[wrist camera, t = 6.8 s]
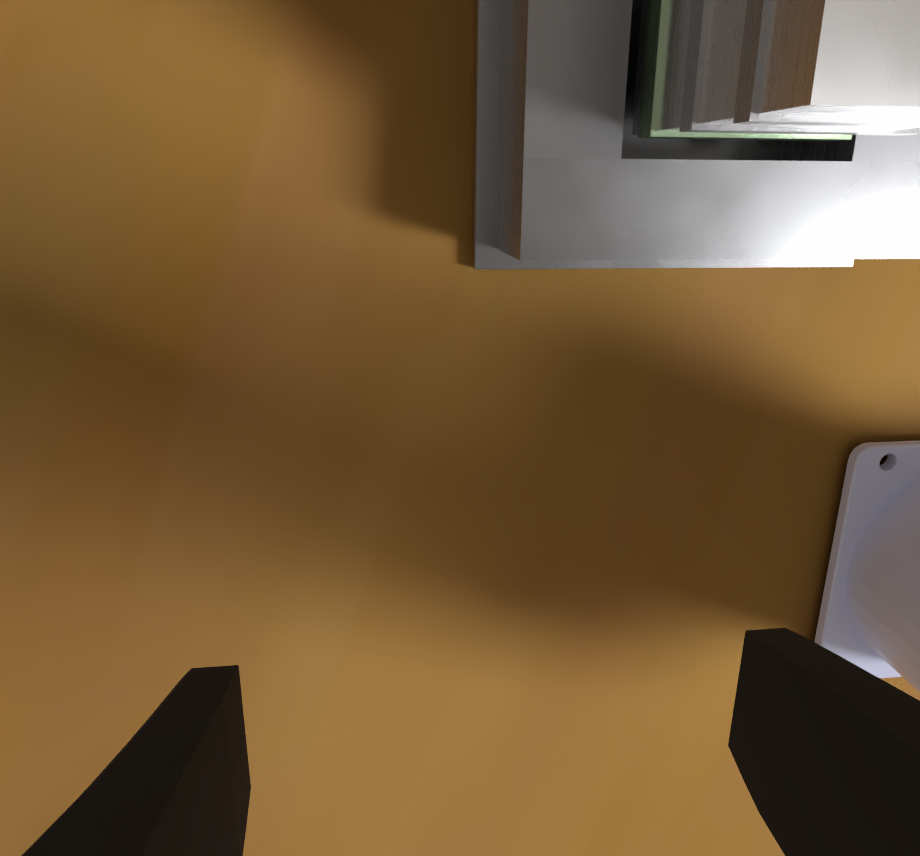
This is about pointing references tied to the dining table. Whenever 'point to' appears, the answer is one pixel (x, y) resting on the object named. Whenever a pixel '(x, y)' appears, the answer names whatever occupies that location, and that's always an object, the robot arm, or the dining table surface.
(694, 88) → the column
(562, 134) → the stand base
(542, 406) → the dining table surface
